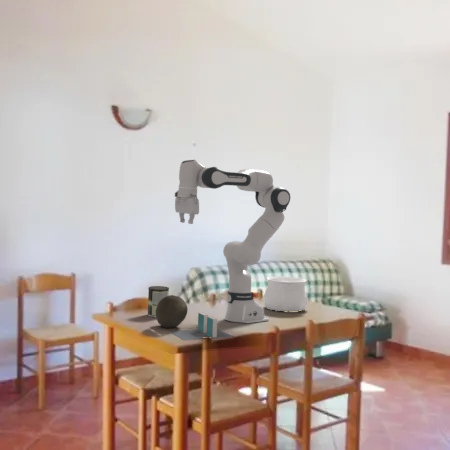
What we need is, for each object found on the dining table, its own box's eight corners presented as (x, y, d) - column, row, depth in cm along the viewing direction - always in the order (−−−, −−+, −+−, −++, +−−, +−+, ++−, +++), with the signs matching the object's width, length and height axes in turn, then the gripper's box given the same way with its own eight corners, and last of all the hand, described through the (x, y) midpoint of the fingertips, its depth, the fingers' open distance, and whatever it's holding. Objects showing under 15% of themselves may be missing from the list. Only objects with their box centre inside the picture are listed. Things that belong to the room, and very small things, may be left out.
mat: (216, 329, 293) (216, 328, 293) (233, 337, 278) (233, 336, 278) (168, 332, 282) (168, 331, 282) (183, 341, 267) (183, 340, 267)
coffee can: (143, 315, 318) (144, 287, 317) (155, 312, 327) (156, 285, 326) (159, 318, 313) (160, 289, 312) (172, 315, 322) (173, 287, 321)
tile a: (201, 329, 288) (202, 312, 288) (207, 332, 283) (208, 314, 282) (197, 330, 287) (198, 312, 287) (203, 332, 282) (204, 315, 282)
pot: (305, 315, 338) (307, 283, 337) (260, 311, 343) (261, 280, 342) (308, 306, 363) (309, 277, 363) (265, 303, 368) (267, 274, 367)
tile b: (210, 334, 280) (211, 316, 280) (216, 337, 275) (217, 318, 275) (206, 334, 279) (207, 316, 279) (212, 337, 274) (213, 319, 274)
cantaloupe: (165, 332, 282) (166, 299, 281) (149, 326, 294) (151, 294, 293) (192, 329, 290) (193, 297, 290) (175, 323, 302) (177, 292, 301)
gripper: (203, 194, 292) (201, 224, 293) (185, 193, 310) (183, 221, 311) (190, 194, 289) (189, 224, 290) (173, 193, 308) (172, 221, 308)
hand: (186, 223), depth 301 cm, fingers open, 8 cm apart
